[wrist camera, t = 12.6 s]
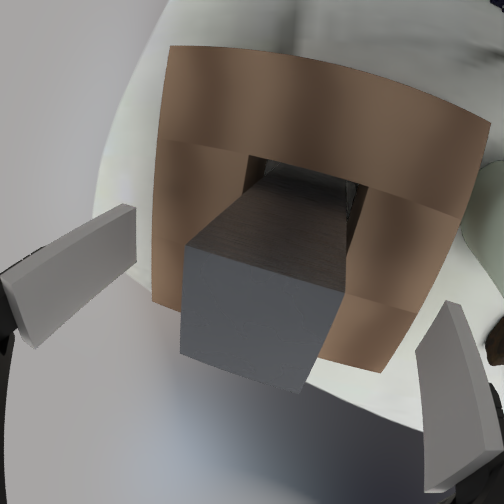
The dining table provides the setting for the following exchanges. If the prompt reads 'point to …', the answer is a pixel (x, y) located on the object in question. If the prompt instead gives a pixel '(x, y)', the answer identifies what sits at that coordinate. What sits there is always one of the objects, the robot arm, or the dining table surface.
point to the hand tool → (496, 345)
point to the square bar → (267, 278)
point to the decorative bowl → (498, 3)
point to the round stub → (487, 221)
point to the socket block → (324, 161)
